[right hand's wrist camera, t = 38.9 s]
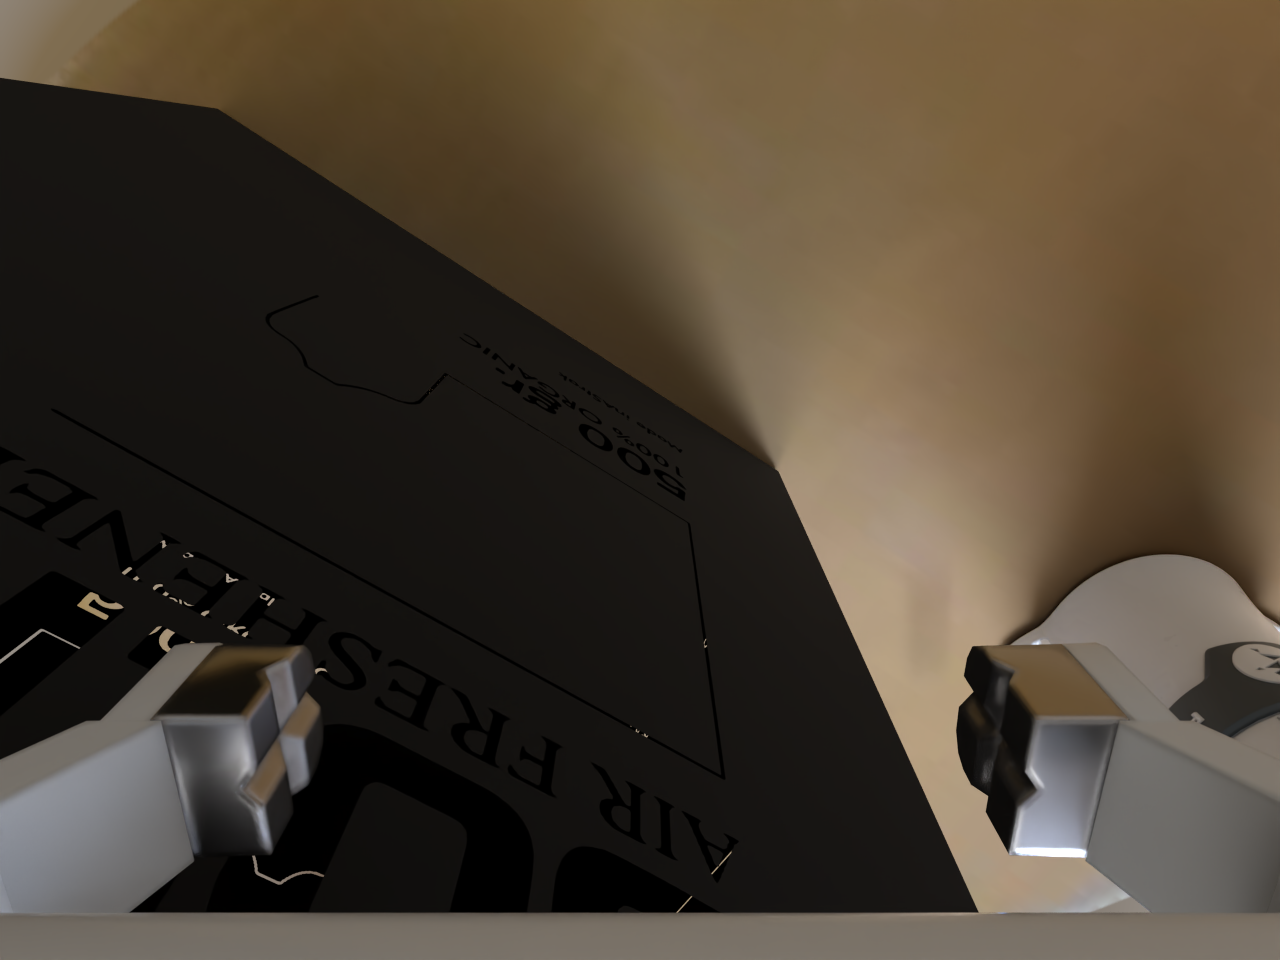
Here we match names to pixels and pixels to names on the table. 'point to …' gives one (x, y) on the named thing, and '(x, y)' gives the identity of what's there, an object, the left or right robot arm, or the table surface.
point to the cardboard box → (414, 553)
